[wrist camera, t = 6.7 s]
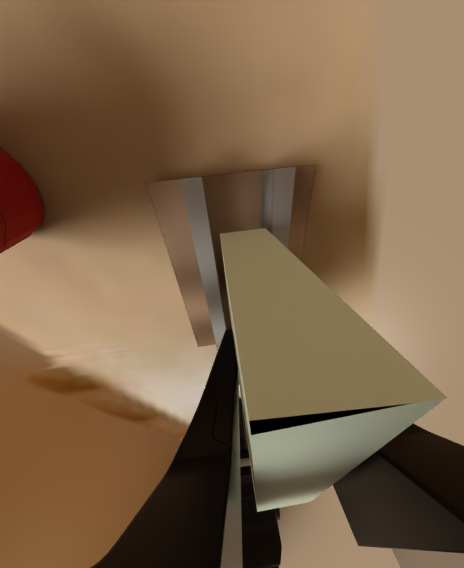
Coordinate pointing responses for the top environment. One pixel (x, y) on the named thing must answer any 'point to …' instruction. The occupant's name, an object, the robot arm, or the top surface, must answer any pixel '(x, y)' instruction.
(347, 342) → the door panel
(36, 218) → the plastic cup
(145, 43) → the top surface
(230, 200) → the track plinth
